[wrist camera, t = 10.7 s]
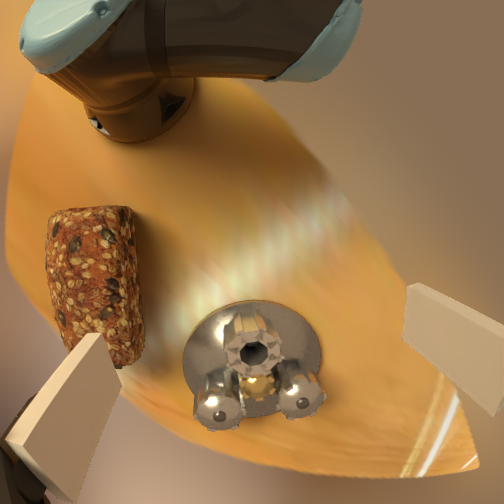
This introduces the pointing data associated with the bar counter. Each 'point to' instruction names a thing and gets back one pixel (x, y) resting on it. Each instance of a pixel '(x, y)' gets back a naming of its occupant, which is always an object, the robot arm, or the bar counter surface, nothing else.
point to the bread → (96, 279)
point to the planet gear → (251, 330)
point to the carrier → (257, 386)
